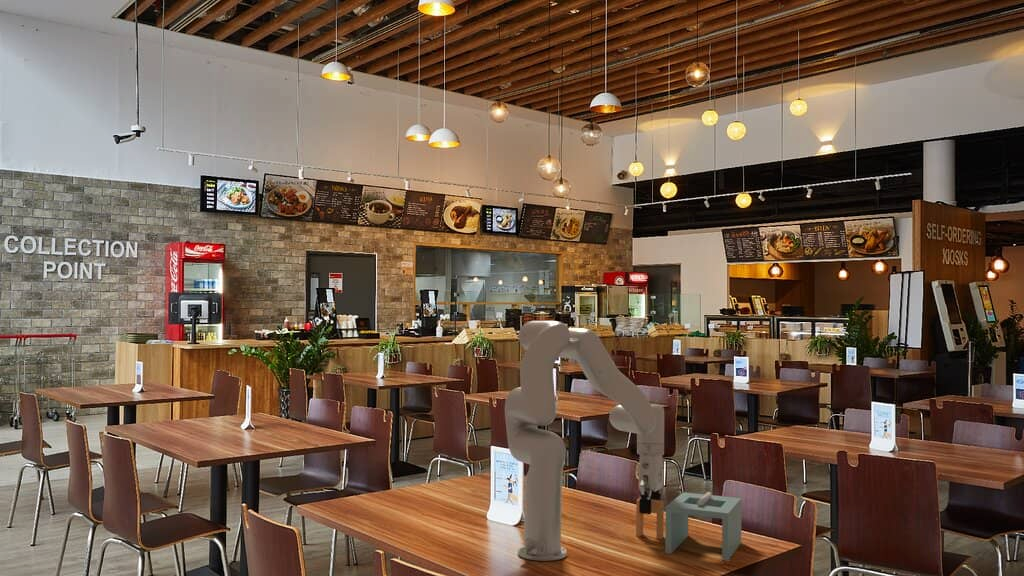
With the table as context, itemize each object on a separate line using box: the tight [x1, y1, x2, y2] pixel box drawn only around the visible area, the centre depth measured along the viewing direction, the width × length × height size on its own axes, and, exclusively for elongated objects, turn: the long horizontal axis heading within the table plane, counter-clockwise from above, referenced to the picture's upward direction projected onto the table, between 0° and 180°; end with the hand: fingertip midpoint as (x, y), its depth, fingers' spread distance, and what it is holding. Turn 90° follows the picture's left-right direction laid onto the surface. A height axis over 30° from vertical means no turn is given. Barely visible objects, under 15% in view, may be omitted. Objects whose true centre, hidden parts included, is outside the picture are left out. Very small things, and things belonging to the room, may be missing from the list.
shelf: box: [664, 491, 742, 562], centre depth 214 cm, size 20×16×14 cm
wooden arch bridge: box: [635, 498, 665, 540], centre depth 224 cm, size 7×3×10 cm, turn 65°
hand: (650, 510), depth 224 cm, fingers open, 9 cm apart
